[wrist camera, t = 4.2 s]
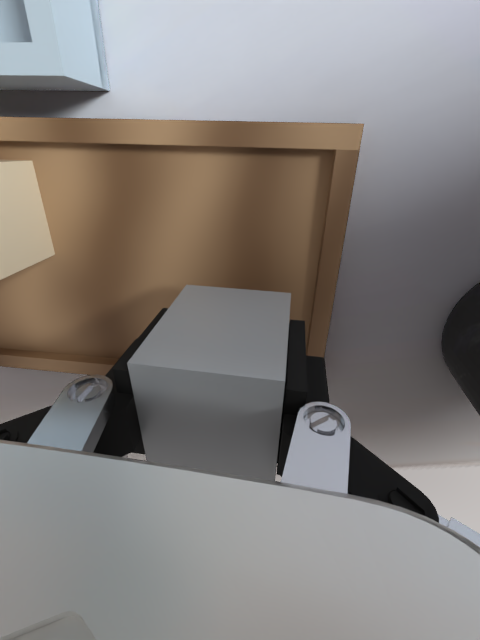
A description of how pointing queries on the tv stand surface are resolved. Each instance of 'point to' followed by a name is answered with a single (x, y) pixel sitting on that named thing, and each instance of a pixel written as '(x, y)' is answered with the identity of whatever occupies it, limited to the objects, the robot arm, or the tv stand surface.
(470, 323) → the travel mug
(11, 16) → the light blue tray
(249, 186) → the walnut tray
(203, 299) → the gray block
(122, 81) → the tv stand surface
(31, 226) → the cream rectangular block
